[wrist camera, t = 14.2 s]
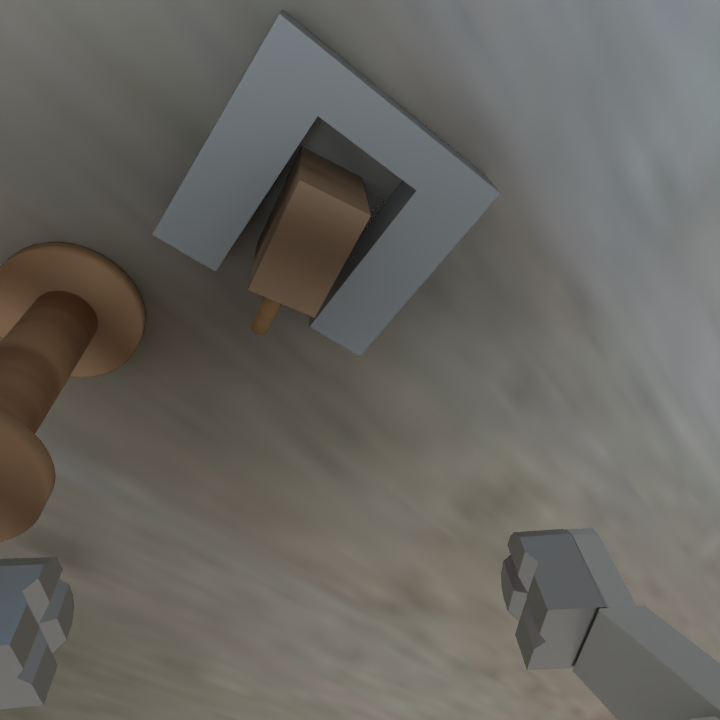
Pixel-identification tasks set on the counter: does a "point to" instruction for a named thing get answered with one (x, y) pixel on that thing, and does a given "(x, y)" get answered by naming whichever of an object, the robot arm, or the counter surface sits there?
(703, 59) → the counter surface
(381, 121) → the notch board
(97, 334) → the bobbin
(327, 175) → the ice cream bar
